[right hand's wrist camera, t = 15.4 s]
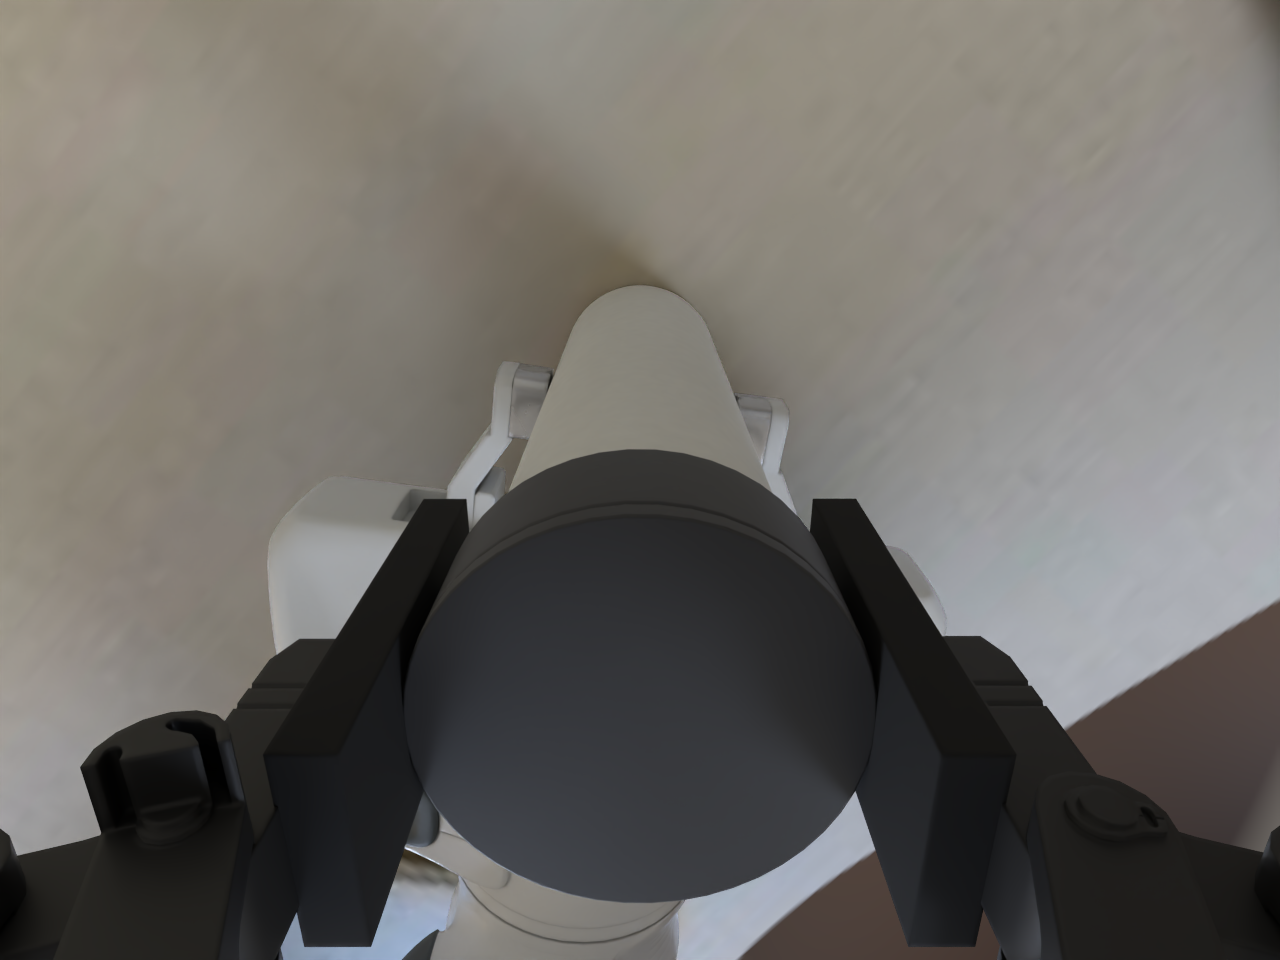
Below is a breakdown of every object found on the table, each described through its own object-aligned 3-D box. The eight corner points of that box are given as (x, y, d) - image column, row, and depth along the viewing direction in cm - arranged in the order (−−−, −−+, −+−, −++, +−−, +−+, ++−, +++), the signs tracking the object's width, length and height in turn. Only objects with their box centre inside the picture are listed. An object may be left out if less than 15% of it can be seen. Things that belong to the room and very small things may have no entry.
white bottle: (569, 279, 28) (434, 513, 10) (721, 290, 28) (874, 542, 10) (563, 425, 30) (442, 849, 12) (706, 435, 30) (808, 869, 12)
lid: (439, 432, 11) (391, 497, 9) (869, 462, 12) (922, 533, 9) (445, 775, 14) (409, 892, 11) (805, 796, 14) (836, 915, 12)
